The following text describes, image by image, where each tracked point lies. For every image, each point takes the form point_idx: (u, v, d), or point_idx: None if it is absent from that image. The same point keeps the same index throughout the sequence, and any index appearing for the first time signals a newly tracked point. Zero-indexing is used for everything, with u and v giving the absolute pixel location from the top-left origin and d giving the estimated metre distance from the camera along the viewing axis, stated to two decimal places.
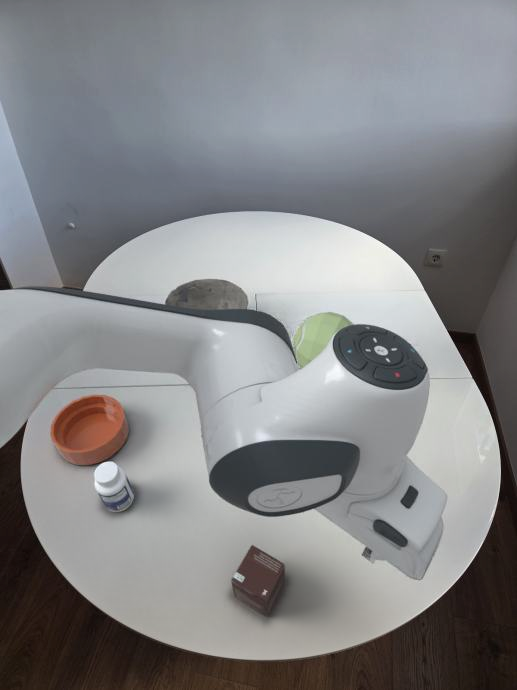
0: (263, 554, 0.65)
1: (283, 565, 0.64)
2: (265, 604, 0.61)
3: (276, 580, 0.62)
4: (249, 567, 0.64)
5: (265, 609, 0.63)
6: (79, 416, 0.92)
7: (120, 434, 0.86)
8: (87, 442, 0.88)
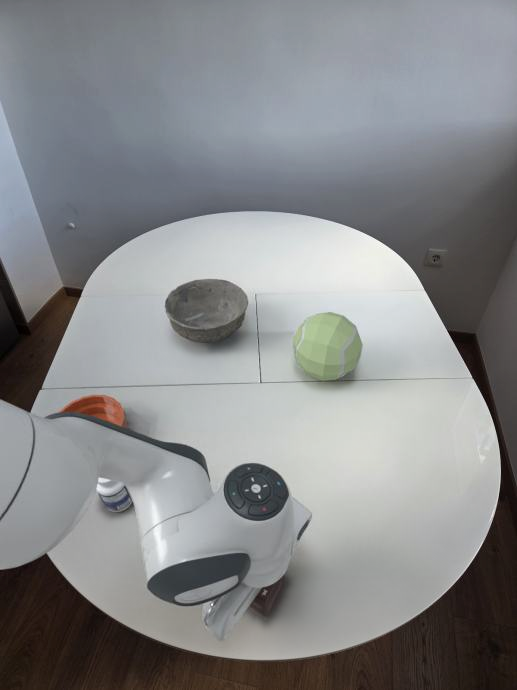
0: None
1: None
2: (265, 604, 0.61)
3: None
4: None
5: (265, 609, 0.63)
6: None
7: None
8: None
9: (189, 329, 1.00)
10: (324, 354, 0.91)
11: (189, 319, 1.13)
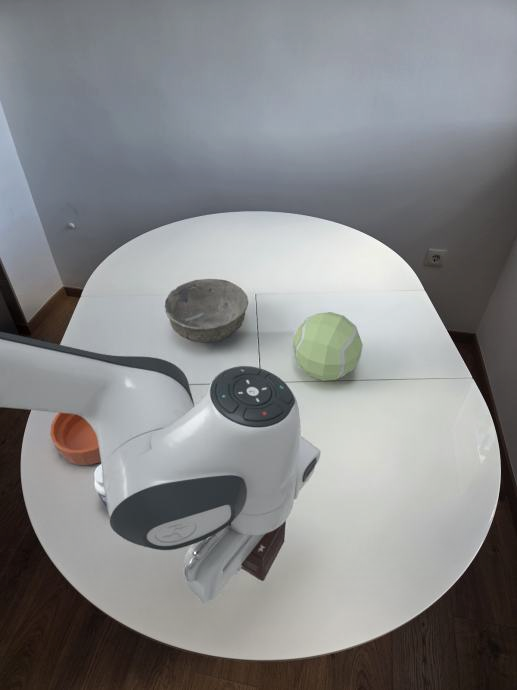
0: None
1: None
2: (262, 563, 0.50)
3: (275, 535, 0.51)
4: None
5: (262, 570, 0.52)
6: (79, 416, 0.92)
7: None
8: (87, 442, 0.88)
9: (189, 329, 1.00)
10: (324, 354, 0.91)
11: (189, 319, 1.13)
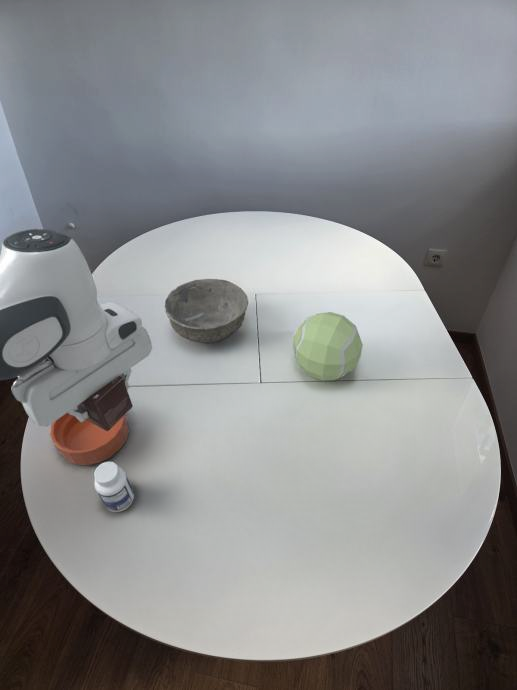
0: None
1: (121, 378, 0.66)
2: (96, 407, 0.64)
3: (110, 388, 0.65)
4: None
5: (100, 417, 0.65)
6: None
7: (120, 434, 0.86)
8: (87, 442, 0.88)
9: (189, 329, 1.00)
10: (324, 354, 0.91)
11: (189, 319, 1.13)
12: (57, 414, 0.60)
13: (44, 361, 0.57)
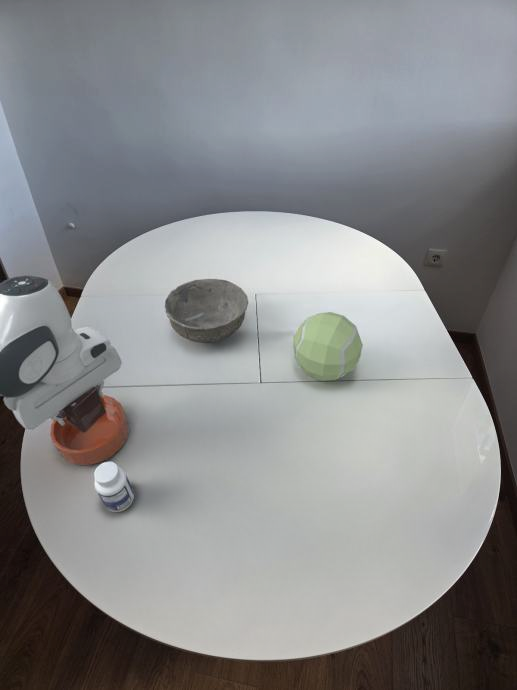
0: None
1: (95, 389, 0.81)
2: (74, 413, 0.78)
3: (86, 397, 0.79)
4: None
5: (78, 421, 0.80)
6: None
7: (120, 434, 0.86)
8: (87, 442, 0.88)
9: (189, 329, 1.00)
10: (324, 354, 0.91)
11: (189, 319, 1.13)
12: (41, 419, 0.74)
13: None
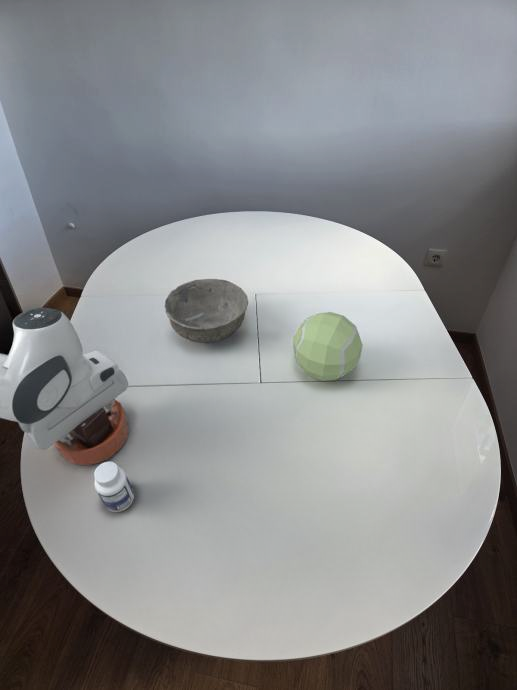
0: None
1: (103, 409, 0.85)
2: (83, 433, 0.82)
3: (94, 418, 0.83)
4: None
5: (87, 440, 0.84)
6: None
7: (120, 434, 0.86)
8: None
9: (189, 329, 1.00)
10: (324, 354, 0.91)
11: (189, 319, 1.13)
12: (53, 440, 0.79)
13: None
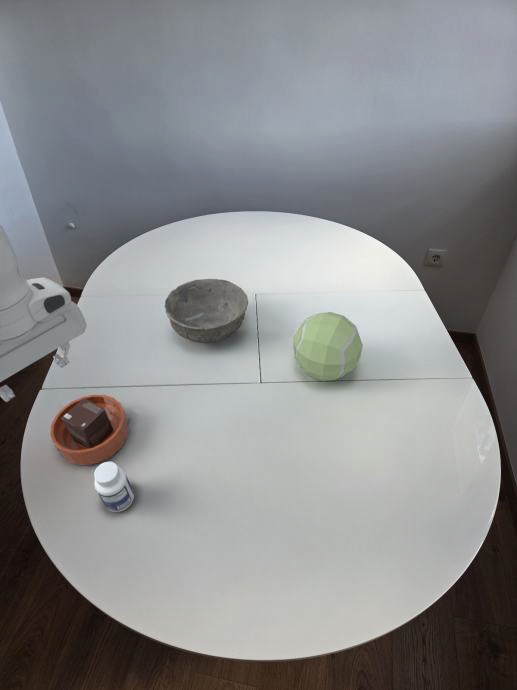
0: (90, 403, 0.86)
1: (103, 409, 0.85)
2: (83, 433, 0.82)
3: (95, 418, 0.83)
4: (77, 410, 0.85)
5: (87, 440, 0.84)
6: None
7: (120, 434, 0.86)
8: None
9: (189, 329, 1.00)
10: (324, 354, 0.91)
11: (189, 319, 1.13)
12: None
13: None
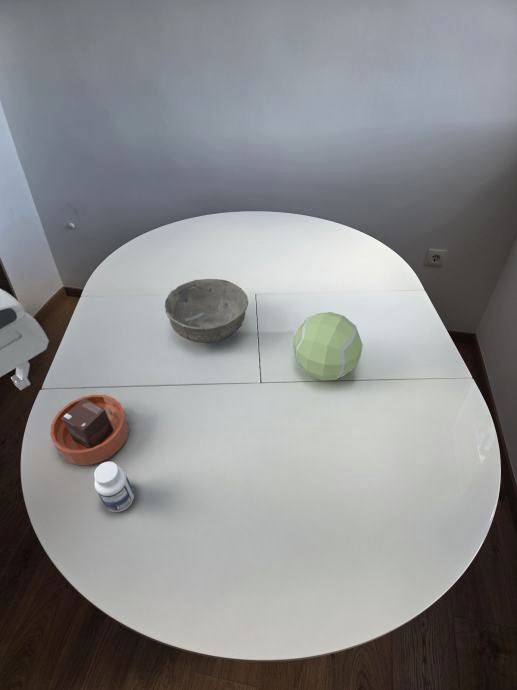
0: (90, 403, 0.86)
1: (103, 409, 0.85)
2: (83, 433, 0.82)
3: (95, 418, 0.83)
4: (77, 410, 0.85)
5: (87, 440, 0.84)
6: None
7: (120, 434, 0.86)
8: None
9: (189, 329, 1.00)
10: (324, 354, 0.91)
11: (189, 319, 1.13)
12: None
13: None
